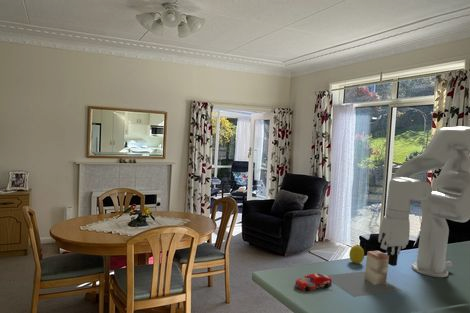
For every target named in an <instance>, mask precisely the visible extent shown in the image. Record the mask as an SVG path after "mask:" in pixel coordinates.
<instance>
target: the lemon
mask: <svg viewBox="0 0 470 313" xmlns="http://www.w3.org/2000/svg"><path fill="white" fill-rule="evenodd" d="M348 255H349V259H350V261H351V262H352V263H354V264H356V265H357V264H360V263H362V262H364V259H365V251H364V248H362V246H361V245H359V244H355V245H353V246H351V247H350V251H349V254H348Z"/></svg>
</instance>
